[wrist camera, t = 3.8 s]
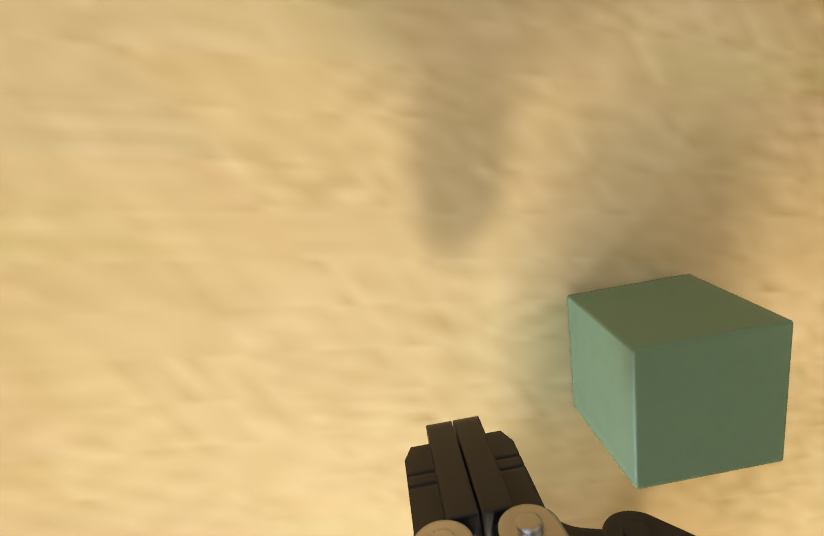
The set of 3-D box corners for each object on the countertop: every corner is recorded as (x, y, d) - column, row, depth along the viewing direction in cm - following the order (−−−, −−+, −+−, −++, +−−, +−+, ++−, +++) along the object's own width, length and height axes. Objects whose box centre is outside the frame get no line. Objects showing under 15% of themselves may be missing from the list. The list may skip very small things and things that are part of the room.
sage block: (565, 294, 17) (632, 350, 13) (689, 272, 18) (795, 320, 13) (573, 406, 19) (635, 490, 14) (688, 385, 19) (784, 461, 15)
